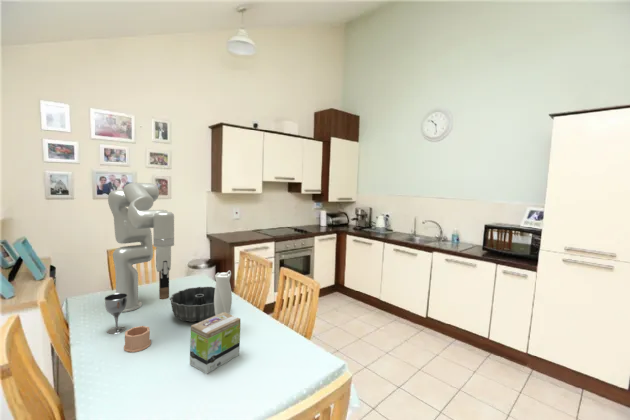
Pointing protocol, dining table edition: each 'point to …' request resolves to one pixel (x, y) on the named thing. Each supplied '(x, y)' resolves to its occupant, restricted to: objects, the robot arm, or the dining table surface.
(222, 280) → the skyscraper
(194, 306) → the bundt pan
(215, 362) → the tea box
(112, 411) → the dining table surface
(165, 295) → the brown wooden dowel
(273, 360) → the dining table surface
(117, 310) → the wine glass
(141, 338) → the octagonal terracotta pot
